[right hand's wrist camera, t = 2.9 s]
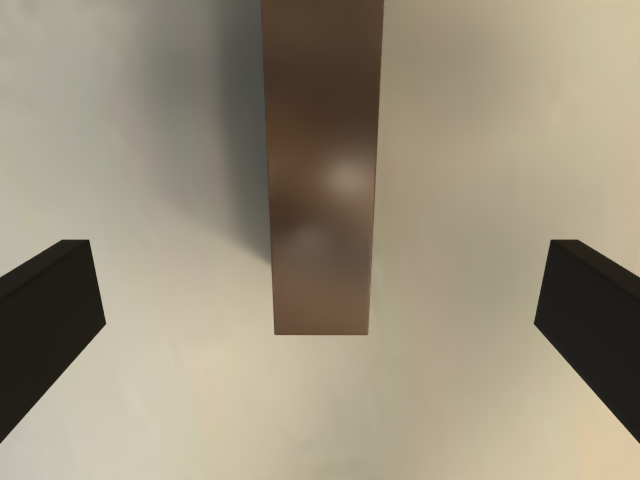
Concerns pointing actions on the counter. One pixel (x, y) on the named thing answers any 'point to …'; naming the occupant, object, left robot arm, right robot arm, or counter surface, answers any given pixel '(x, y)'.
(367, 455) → the counter surface
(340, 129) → the post
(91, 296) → the right robot arm
